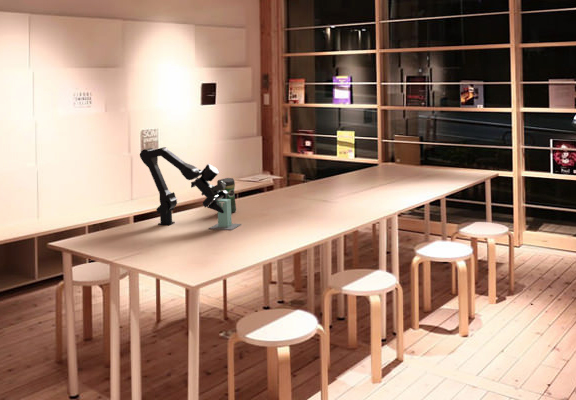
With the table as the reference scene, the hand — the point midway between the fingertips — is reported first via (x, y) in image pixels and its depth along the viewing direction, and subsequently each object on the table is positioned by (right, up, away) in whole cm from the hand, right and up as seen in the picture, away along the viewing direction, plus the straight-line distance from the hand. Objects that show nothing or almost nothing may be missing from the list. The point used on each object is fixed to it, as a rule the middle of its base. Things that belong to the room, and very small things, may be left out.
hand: (227, 210), depth 341 cm
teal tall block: (-1, -7, +2) cm, 8 cm away
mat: (-1, -8, +2) cm, 8 cm away
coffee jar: (-3, -2, +37) cm, 37 cm away
